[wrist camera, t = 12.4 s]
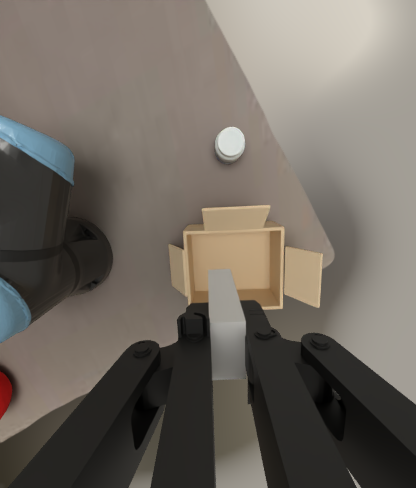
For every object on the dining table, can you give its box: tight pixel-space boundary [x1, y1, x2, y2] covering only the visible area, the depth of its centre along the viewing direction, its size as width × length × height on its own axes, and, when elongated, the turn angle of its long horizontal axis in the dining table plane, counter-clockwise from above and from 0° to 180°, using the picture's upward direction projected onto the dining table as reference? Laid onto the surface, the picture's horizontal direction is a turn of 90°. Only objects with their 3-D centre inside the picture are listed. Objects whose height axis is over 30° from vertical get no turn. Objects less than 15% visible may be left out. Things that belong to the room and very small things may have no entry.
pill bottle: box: [215, 127, 245, 164], centre depth 39 cm, size 5×5×8 cm
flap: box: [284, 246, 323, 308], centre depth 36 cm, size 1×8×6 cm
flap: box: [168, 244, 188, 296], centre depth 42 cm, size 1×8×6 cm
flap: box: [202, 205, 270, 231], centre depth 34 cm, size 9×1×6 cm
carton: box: [183, 221, 284, 309], centre depth 43 cm, size 16×14×8 cm
